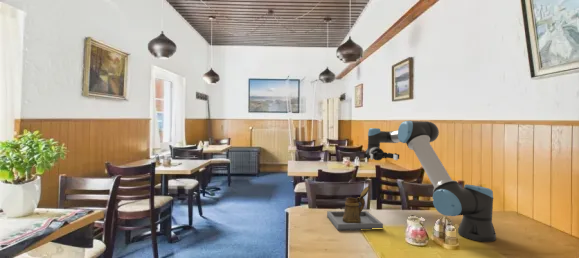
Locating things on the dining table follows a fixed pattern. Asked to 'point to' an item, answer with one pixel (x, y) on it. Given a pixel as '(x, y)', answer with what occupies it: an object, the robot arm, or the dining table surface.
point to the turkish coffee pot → (354, 208)
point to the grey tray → (366, 223)
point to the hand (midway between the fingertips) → (384, 157)
